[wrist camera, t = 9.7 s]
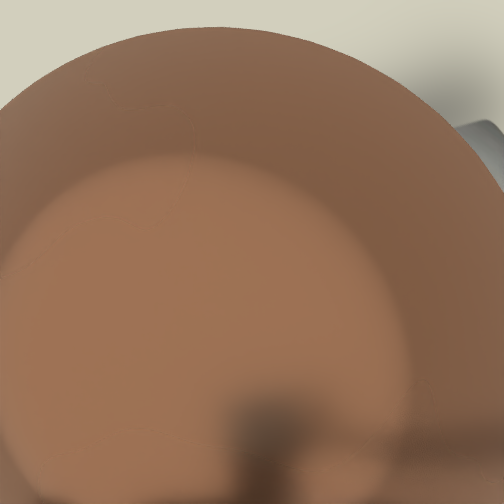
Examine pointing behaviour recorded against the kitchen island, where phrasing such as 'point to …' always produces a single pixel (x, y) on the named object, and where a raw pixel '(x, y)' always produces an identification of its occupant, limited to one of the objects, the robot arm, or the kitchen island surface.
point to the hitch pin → (245, 283)
